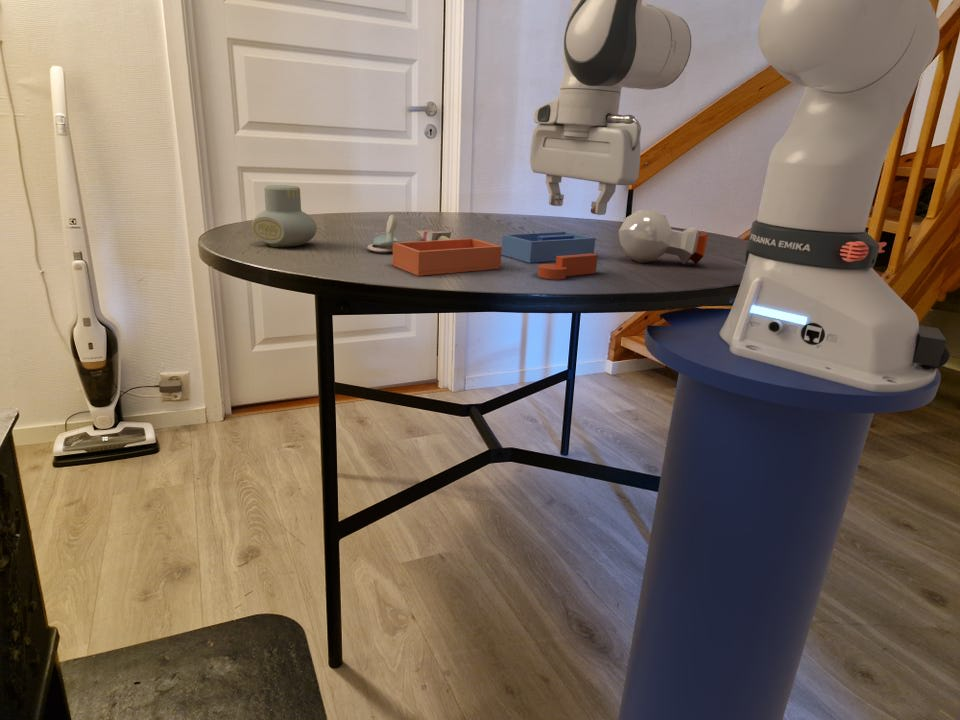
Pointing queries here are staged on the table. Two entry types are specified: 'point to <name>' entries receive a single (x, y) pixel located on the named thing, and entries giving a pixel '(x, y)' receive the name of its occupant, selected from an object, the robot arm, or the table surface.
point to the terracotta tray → (446, 256)
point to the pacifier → (386, 238)
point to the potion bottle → (659, 238)
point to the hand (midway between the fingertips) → (576, 209)
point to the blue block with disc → (554, 237)
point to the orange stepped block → (569, 266)
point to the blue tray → (545, 246)
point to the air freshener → (283, 218)
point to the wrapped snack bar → (434, 235)
